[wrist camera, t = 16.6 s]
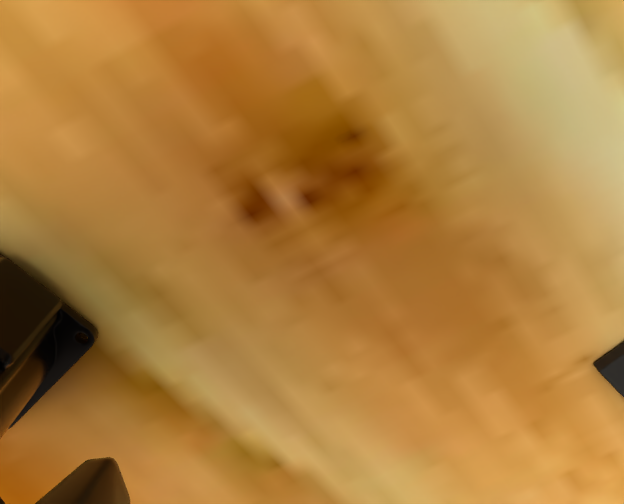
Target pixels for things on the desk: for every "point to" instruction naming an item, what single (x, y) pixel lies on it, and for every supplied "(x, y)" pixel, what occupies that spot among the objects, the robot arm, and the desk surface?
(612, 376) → the desk pad
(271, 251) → the desk surface
